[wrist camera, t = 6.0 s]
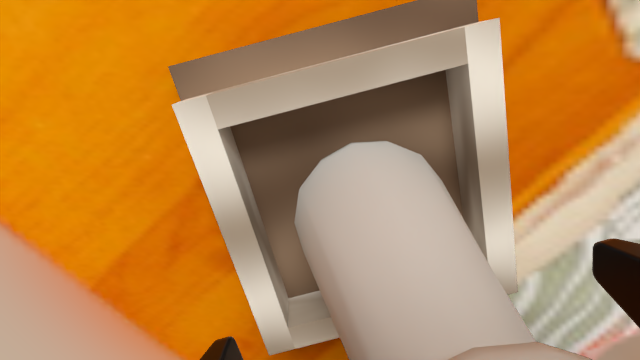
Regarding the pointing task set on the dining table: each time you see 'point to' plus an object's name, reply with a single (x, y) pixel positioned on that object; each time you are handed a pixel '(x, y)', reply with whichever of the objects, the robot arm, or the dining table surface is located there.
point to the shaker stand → (345, 138)
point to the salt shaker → (404, 263)
